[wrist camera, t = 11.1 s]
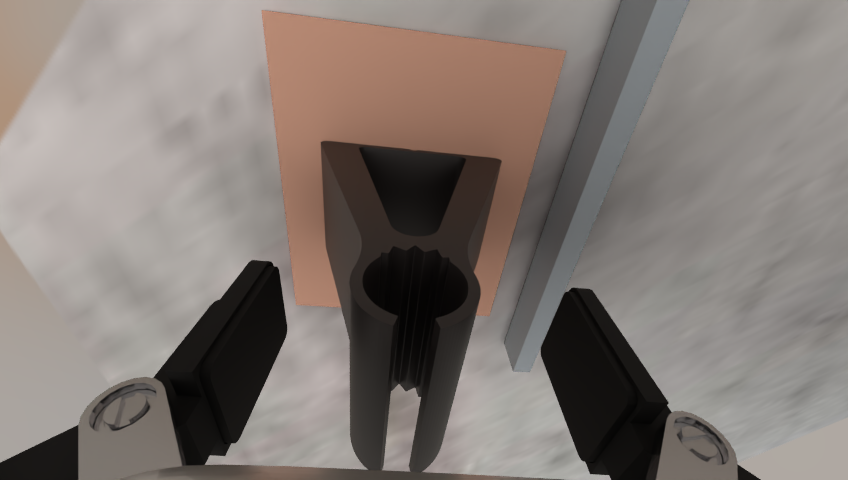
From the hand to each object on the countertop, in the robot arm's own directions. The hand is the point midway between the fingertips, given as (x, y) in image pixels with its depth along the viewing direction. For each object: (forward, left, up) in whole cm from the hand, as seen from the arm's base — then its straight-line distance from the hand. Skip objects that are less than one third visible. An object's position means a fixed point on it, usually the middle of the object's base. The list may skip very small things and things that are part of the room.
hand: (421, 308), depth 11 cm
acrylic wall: (-8, 0, -9) cm, 12 cm away
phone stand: (0, 0, -9) cm, 9 cm away
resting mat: (+1, 0, -9) cm, 9 cm away
